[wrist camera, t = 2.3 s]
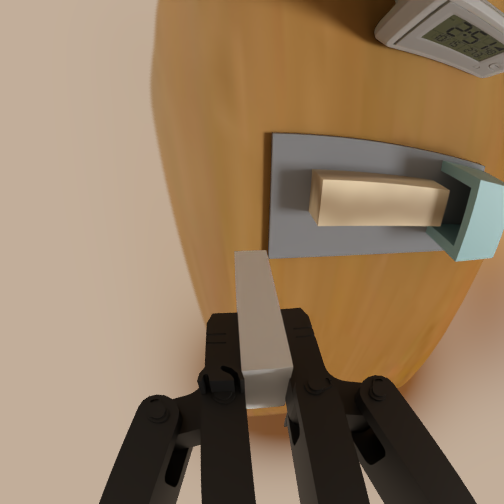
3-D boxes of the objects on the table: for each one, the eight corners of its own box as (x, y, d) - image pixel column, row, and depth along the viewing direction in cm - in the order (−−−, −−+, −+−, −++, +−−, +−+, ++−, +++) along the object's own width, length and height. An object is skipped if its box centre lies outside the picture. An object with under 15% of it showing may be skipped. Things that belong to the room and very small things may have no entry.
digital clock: (362, 40, 16) (440, 22, 7) (366, -30, 12) (430, -66, 3) (476, 99, 18) (545, 121, 9) (479, 38, 14) (545, 44, 5)
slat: (312, 169, 22) (323, 179, 20) (432, 180, 23) (449, 190, 20) (308, 211, 24) (317, 226, 22) (424, 213, 25) (440, 226, 23)
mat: (271, 132, 21) (273, 133, 20) (481, 164, 23) (484, 166, 22) (267, 255, 27) (268, 258, 27) (458, 247, 29) (461, 249, 28)
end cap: (442, 160, 22) (480, 179, 17) (482, 170, 22) (515, 189, 17) (425, 232, 27) (455, 261, 21) (465, 232, 27) (492, 257, 22)
